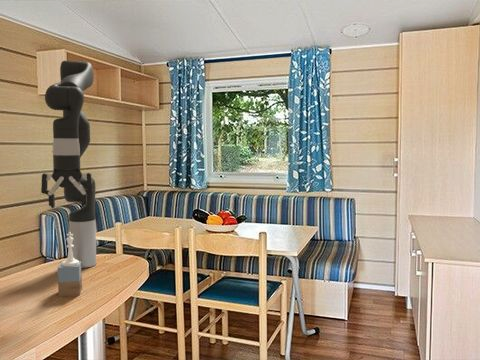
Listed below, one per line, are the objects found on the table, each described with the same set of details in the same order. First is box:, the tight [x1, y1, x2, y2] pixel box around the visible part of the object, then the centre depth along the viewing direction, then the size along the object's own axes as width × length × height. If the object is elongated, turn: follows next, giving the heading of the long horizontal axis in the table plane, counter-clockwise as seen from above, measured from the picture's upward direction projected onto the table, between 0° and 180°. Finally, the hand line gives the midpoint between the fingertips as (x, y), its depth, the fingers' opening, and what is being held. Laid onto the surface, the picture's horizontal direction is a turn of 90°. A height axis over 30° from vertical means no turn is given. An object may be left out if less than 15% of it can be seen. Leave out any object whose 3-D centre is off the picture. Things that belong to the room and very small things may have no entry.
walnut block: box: [57, 274, 83, 298], centre depth 129 cm, size 6×6×4 cm
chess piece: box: [62, 231, 79, 266], centre depth 128 cm, size 5×5×10 cm
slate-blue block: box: [57, 261, 82, 284], centre depth 129 cm, size 6×6×4 cm
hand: (68, 207), depth 128 cm, fingers open, 8 cm apart
